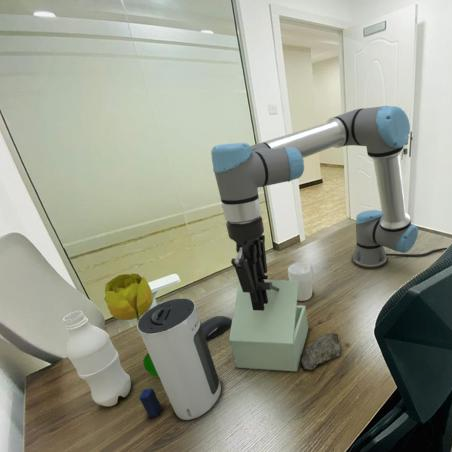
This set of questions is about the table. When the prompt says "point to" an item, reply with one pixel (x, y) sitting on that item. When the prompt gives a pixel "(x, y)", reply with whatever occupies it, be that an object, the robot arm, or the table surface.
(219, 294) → the table surface
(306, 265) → the cup
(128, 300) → the flower
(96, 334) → the water bottle
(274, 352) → the chest
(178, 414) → the white cylindrical appliance
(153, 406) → the eraser
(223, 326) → the computer mouse
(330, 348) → the stone
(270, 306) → the lid
